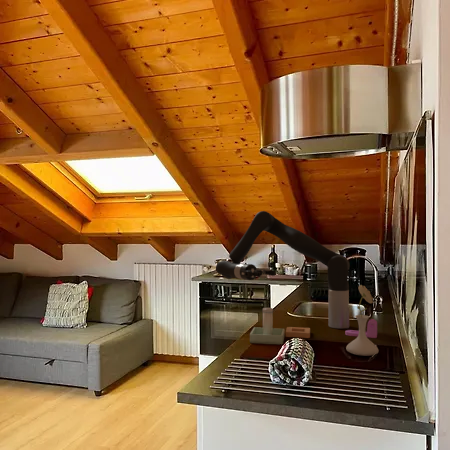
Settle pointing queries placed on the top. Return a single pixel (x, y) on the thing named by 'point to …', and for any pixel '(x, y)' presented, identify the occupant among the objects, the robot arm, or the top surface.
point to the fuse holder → (298, 332)
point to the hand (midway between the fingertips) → (267, 273)
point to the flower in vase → (362, 330)
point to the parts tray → (267, 336)
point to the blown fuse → (267, 321)
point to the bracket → (370, 331)
